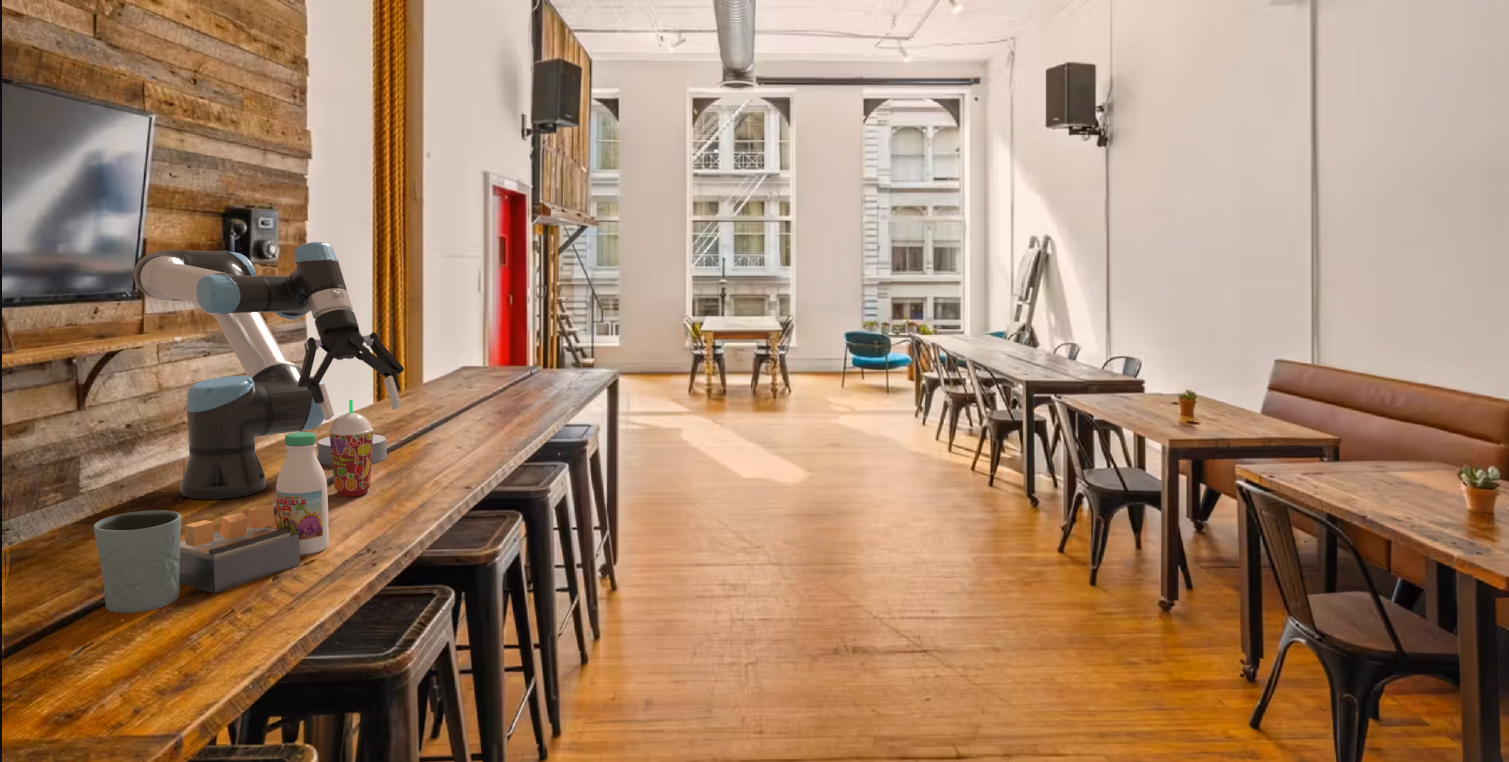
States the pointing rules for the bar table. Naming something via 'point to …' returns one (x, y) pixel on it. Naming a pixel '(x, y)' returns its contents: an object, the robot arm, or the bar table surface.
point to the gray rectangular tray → (237, 559)
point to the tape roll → (377, 450)
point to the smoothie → (351, 453)
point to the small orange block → (234, 526)
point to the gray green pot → (139, 559)
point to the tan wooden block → (261, 516)
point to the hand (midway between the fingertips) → (364, 412)
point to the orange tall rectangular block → (199, 533)
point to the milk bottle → (303, 494)
